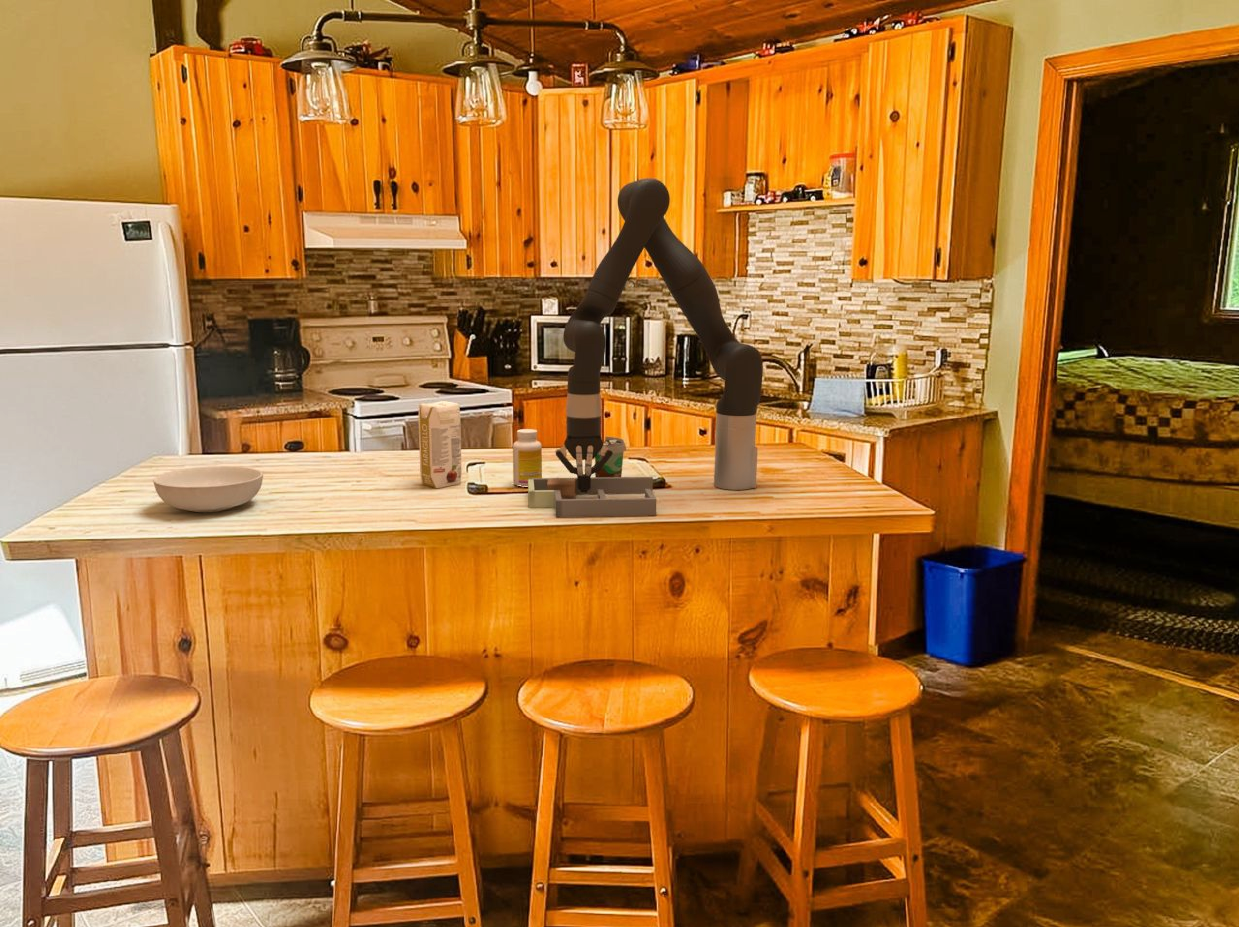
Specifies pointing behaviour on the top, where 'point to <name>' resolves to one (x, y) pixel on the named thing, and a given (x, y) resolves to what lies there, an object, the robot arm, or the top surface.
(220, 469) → the serving bowl
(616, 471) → the food container
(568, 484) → the walnut block
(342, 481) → the top surface
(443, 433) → the juice carton
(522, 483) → the supplement bottle
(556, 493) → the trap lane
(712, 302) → the robot arm
